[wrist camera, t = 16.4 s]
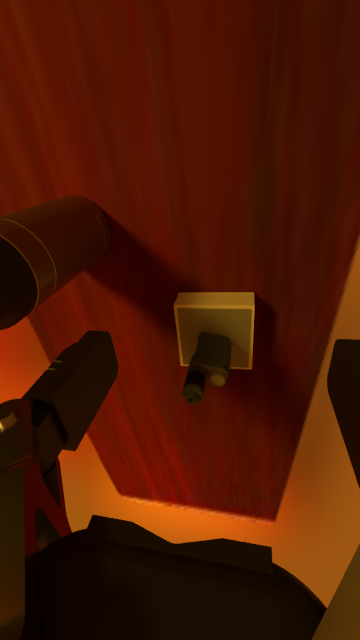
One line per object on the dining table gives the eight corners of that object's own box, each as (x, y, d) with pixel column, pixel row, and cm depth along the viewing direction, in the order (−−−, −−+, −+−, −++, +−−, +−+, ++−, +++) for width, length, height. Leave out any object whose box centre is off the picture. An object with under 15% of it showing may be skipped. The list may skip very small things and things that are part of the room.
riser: (185, 350, 49) (180, 366, 46) (179, 292, 43) (173, 305, 40) (251, 353, 47) (251, 370, 43) (253, 292, 41) (254, 306, 38)
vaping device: (196, 330, 41) (181, 390, 31) (233, 336, 41) (229, 399, 31) (195, 344, 43) (179, 406, 33) (230, 350, 42) (225, 415, 32)
